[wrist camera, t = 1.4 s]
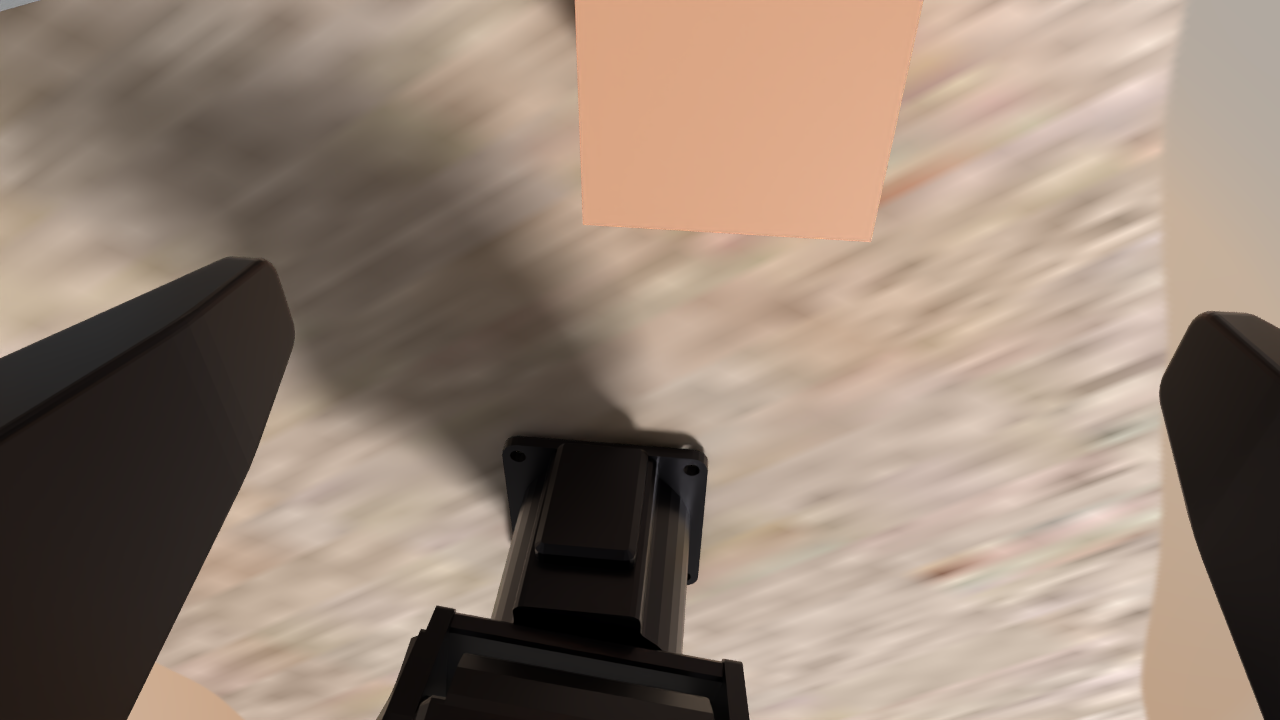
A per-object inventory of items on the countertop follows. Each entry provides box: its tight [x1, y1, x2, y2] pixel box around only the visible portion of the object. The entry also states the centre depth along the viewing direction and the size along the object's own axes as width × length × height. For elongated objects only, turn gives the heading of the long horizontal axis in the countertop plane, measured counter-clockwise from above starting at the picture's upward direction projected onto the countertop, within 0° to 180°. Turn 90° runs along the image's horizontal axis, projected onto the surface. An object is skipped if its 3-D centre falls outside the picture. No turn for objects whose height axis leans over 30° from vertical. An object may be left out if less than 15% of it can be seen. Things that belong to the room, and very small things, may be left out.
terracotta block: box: [575, 0, 923, 242], centre depth 15 cm, size 5×5×6 cm
